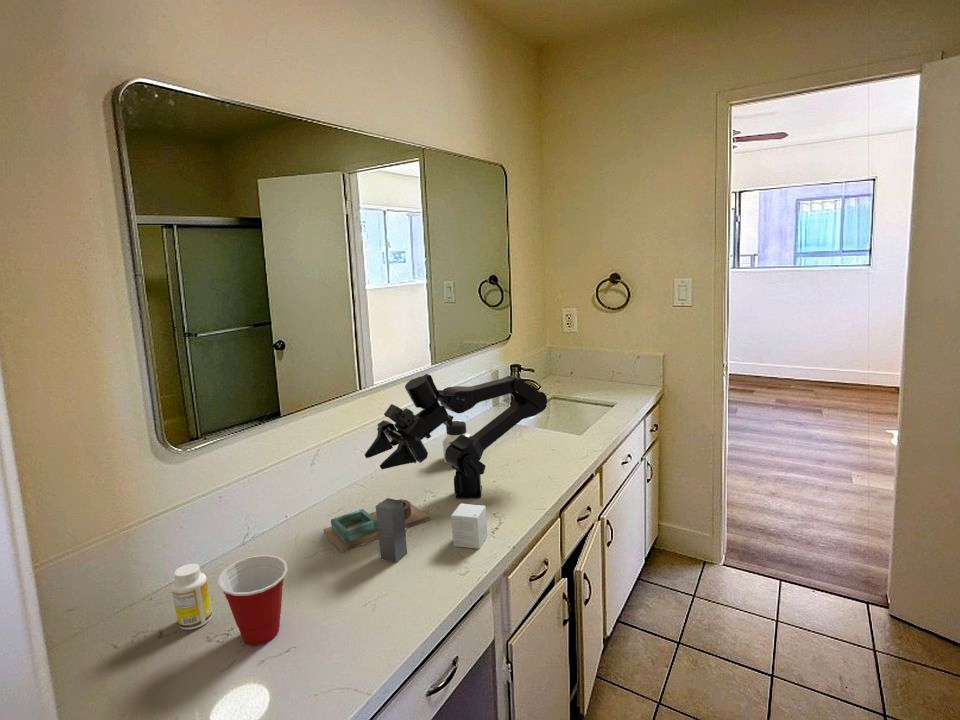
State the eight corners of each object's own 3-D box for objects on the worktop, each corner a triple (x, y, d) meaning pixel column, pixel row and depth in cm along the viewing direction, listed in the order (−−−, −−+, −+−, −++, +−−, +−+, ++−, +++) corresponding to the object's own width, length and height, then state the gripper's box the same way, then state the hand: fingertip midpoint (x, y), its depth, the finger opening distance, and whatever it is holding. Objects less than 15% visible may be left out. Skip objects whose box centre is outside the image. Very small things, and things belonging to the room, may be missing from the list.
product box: (488, 535, 124) (486, 505, 122) (479, 550, 118) (477, 518, 117) (462, 532, 126) (460, 502, 124) (452, 546, 120) (450, 515, 119)
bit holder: (407, 504, 142) (406, 491, 141) (429, 519, 133) (428, 505, 132) (323, 533, 129) (322, 519, 128) (342, 552, 120) (340, 537, 120)
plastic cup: (255, 666, 88) (244, 597, 85) (214, 644, 93) (203, 579, 91) (309, 625, 97) (300, 563, 94) (268, 607, 102) (260, 548, 100)
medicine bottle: (467, 463, 167) (464, 425, 164) (444, 463, 168) (441, 425, 166) (472, 455, 174) (469, 418, 171) (449, 454, 175) (447, 418, 173)
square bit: (392, 549, 120) (387, 498, 118) (407, 553, 118) (402, 501, 116) (380, 559, 117) (375, 506, 114) (396, 563, 115) (391, 509, 113)
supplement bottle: (204, 607, 103) (196, 557, 102) (218, 618, 100) (210, 567, 98) (173, 623, 99) (163, 571, 97) (186, 636, 96) (176, 582, 94)
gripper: (393, 389, 140) (342, 425, 134) (428, 403, 125) (371, 445, 119) (413, 423, 145) (364, 460, 139) (449, 441, 129) (395, 484, 123)
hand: (372, 461), depth 130 cm, fingers open, 9 cm apart
